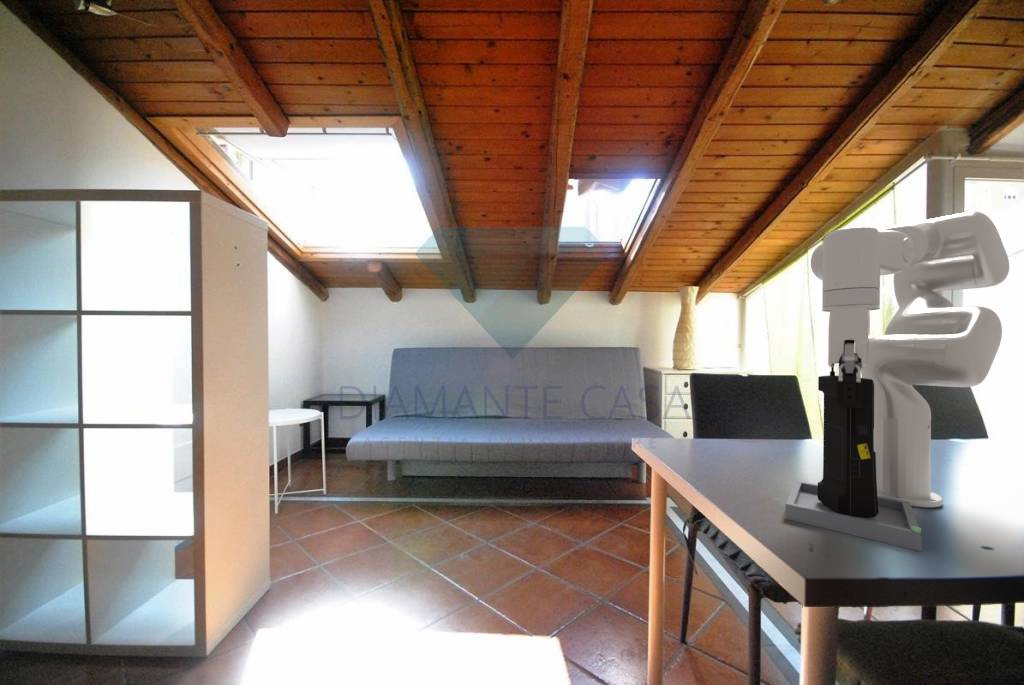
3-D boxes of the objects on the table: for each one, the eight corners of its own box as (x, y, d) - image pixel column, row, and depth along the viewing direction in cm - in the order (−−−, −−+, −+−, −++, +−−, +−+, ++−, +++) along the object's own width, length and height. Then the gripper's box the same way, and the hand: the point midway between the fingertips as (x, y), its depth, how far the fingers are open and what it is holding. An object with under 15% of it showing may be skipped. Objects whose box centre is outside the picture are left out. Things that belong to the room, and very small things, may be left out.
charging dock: (795, 493, 79) (796, 477, 79) (909, 516, 69) (909, 498, 69) (785, 518, 67) (785, 500, 67) (921, 551, 57) (921, 529, 57)
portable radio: (885, 521, 64) (887, 365, 64) (842, 518, 65) (844, 364, 65) (854, 501, 72) (855, 362, 71) (816, 499, 73) (817, 361, 73)
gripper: (824, 307, 77) (824, 397, 77) (819, 298, 64) (818, 407, 64) (877, 304, 73) (876, 401, 72) (882, 294, 59) (882, 413, 59)
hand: (849, 403), depth 68 cm, fingers closed on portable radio, 8 cm apart
